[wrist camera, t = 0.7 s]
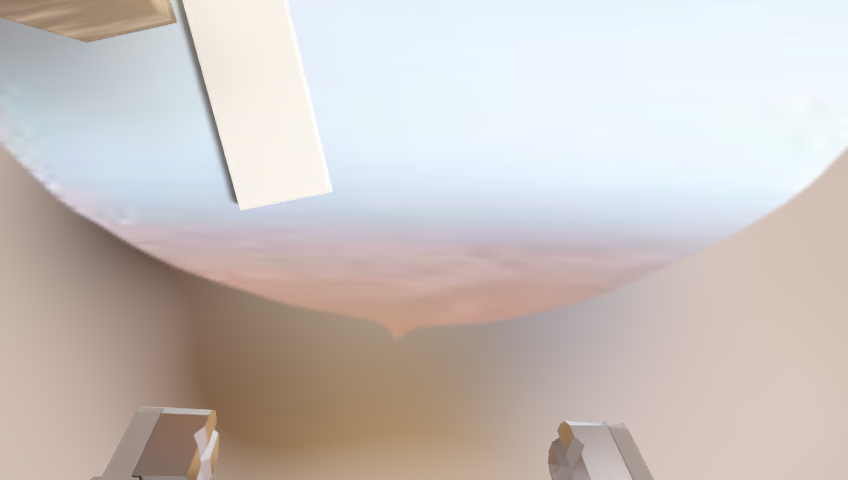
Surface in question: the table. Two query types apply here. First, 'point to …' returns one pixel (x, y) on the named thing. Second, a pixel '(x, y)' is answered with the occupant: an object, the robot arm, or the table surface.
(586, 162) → the table surface
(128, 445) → the robot arm
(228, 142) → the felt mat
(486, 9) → the table surface
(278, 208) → the table surface
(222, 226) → the table surface
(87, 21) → the tall wooden pillar
